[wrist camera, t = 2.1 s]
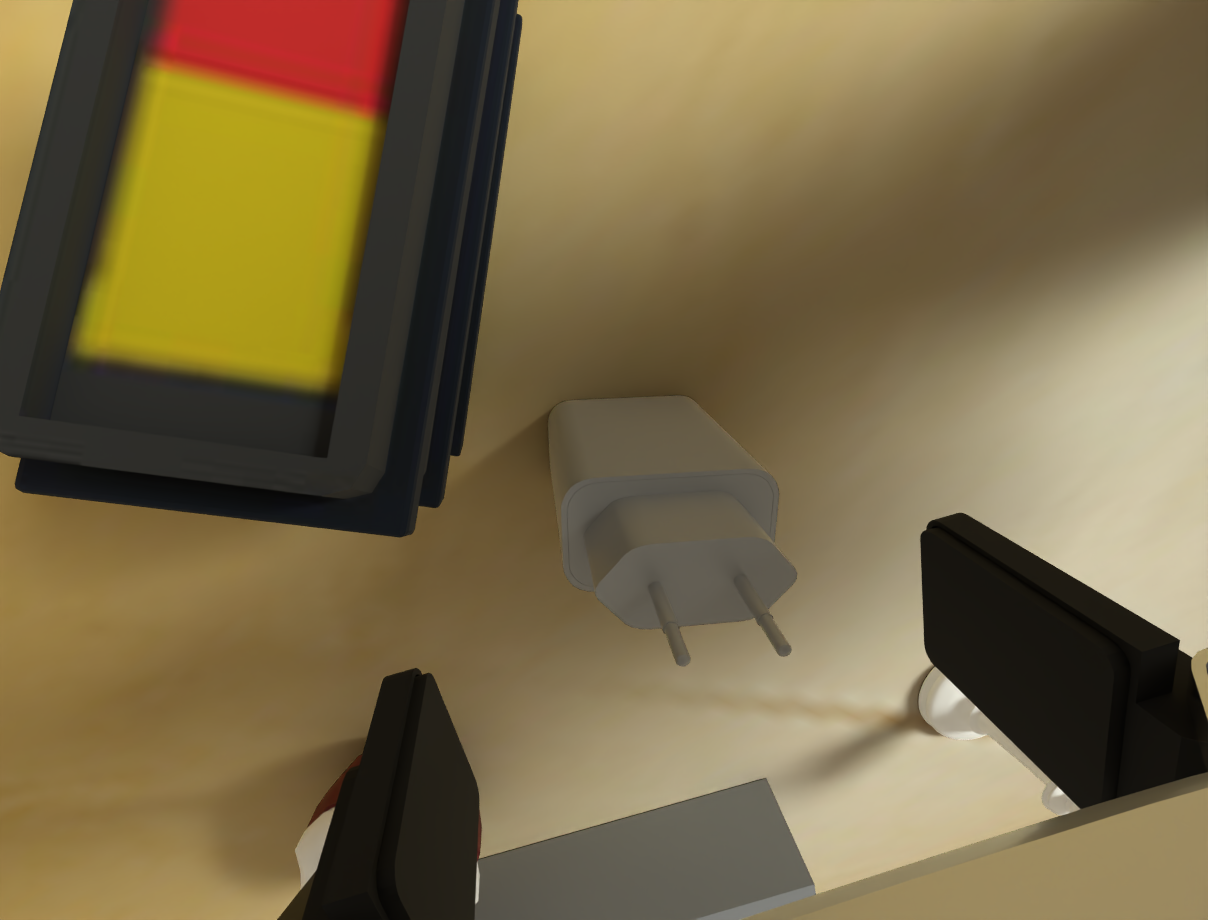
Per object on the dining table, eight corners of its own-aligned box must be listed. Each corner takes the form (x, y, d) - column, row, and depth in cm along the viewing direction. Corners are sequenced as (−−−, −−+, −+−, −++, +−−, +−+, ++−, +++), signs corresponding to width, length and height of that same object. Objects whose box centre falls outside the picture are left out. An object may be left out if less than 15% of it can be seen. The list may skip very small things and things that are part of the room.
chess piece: (1031, 693, 29) (1274, 912, 20) (939, 746, 29) (1134, 984, 20) (998, 624, 27) (1248, 828, 18) (901, 682, 28) (1096, 910, 18)
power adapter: (697, 476, 23) (869, 712, 12) (550, 484, 22) (582, 743, 11) (701, 394, 22) (894, 567, 10) (547, 401, 21) (578, 593, 10)
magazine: (332, 507, 20) (-102, 486, 5) (401, 124, 21) (228, -775, 6) (453, 522, 20) (392, 543, 6) (510, 151, 22) (583, -604, 7)
